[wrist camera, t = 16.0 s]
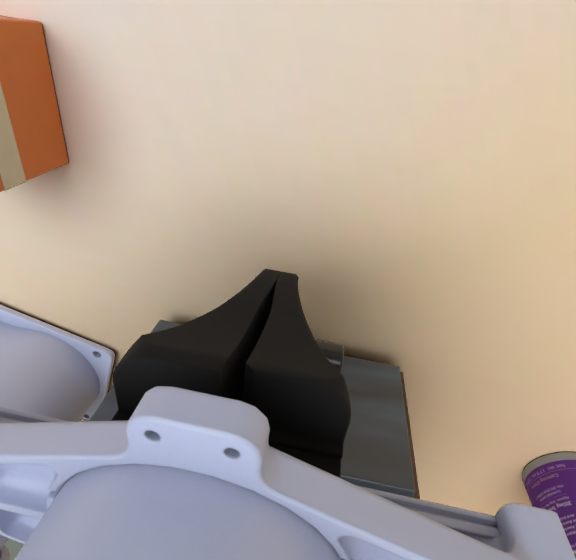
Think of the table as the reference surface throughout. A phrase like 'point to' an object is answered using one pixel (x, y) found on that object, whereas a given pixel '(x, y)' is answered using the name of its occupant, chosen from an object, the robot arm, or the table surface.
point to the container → (554, 488)
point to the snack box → (27, 105)
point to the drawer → (354, 421)
